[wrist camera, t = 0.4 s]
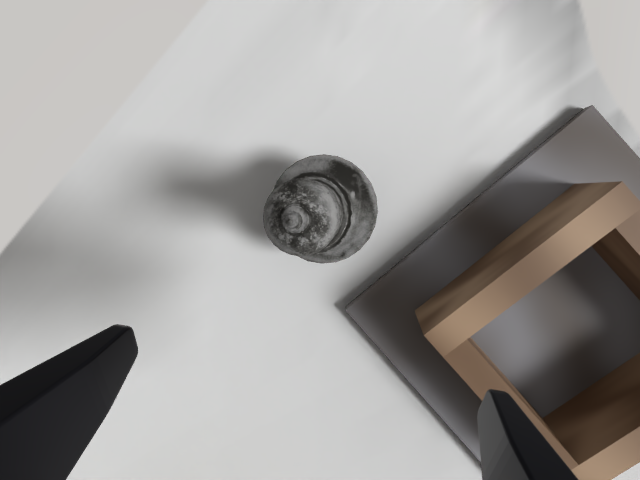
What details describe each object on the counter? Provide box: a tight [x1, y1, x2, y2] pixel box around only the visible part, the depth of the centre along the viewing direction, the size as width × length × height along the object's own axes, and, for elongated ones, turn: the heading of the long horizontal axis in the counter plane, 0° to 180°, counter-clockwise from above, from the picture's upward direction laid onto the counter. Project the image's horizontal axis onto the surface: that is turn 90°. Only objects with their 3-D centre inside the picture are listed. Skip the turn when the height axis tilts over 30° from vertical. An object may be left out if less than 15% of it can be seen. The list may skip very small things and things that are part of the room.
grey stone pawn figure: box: [263, 155, 378, 263], centre depth 18 cm, size 6×6×12 cm
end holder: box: [345, 105, 640, 480], centre depth 20 cm, size 18×17×5 cm
